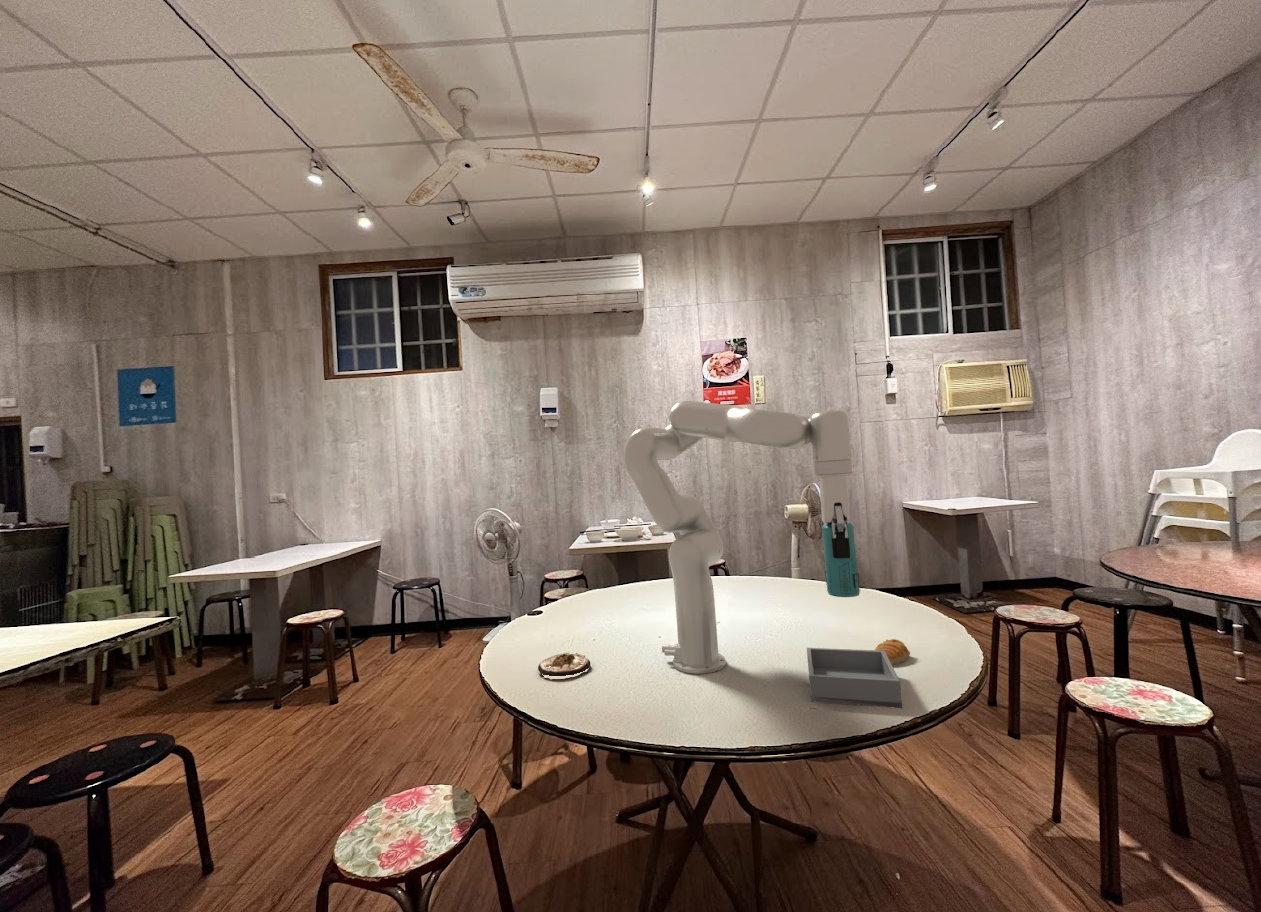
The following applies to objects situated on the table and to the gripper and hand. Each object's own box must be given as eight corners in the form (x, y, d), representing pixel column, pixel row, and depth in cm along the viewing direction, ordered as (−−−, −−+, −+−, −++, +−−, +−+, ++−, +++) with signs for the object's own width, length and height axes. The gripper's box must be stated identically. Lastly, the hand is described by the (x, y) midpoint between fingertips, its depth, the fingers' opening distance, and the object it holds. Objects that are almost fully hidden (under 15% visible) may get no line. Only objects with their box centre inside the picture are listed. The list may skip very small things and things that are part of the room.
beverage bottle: (859, 606, 98) (850, 505, 99) (824, 603, 102) (816, 506, 103) (863, 598, 104) (855, 503, 105) (829, 595, 107) (822, 504, 108)
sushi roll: (549, 690, 111) (547, 671, 112) (525, 670, 124) (524, 654, 124) (605, 672, 119) (604, 655, 120) (578, 655, 132) (577, 640, 132)
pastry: (898, 670, 110) (896, 652, 110) (867, 663, 114) (865, 646, 115) (912, 657, 116) (910, 640, 116) (881, 651, 121) (880, 635, 121)
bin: (811, 701, 97) (809, 676, 97) (808, 669, 112) (806, 647, 112) (902, 708, 92) (900, 681, 92) (886, 674, 107) (884, 650, 107)
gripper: (812, 470, 113) (818, 548, 113) (816, 471, 97) (823, 562, 96) (847, 468, 111) (854, 548, 110) (857, 468, 95) (865, 562, 94)
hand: (839, 554), depth 103 cm, fingers closed on beverage bottle, 6 cm apart
